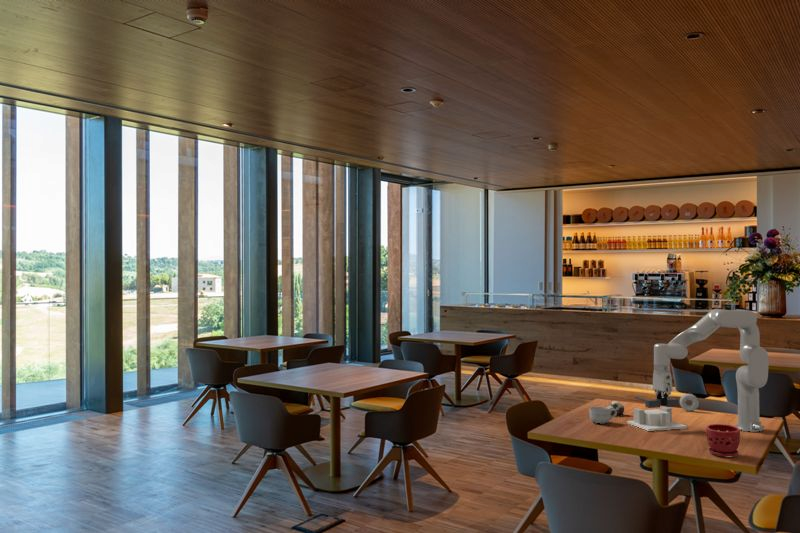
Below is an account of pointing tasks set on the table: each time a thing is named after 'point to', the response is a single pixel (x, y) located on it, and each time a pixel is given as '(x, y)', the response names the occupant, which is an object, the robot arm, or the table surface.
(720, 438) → the plant pot
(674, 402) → the glasses
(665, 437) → the table surface
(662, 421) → the white block structure
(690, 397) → the donut
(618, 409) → the skull
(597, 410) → the teacup
